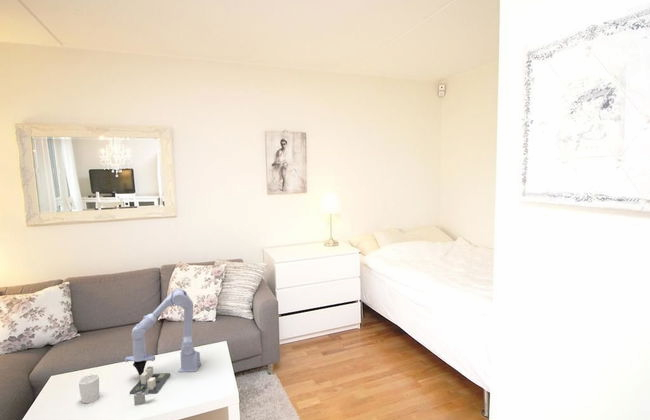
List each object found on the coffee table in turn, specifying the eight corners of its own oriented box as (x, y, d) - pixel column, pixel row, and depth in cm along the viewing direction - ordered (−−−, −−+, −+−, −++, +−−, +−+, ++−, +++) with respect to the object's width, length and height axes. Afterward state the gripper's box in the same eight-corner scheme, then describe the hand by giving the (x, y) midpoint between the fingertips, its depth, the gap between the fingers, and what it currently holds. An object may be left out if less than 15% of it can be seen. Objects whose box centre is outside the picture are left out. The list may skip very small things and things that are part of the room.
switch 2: (153, 374, 174) (153, 366, 174) (150, 377, 171) (150, 369, 171) (148, 374, 174) (148, 366, 174) (146, 377, 171) (145, 369, 171)
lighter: (134, 405, 152) (133, 388, 152) (135, 402, 154) (134, 386, 153) (151, 402, 154) (150, 385, 154) (152, 399, 156) (151, 383, 155)
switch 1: (148, 380, 169) (148, 371, 169) (145, 383, 166) (145, 375, 166) (144, 380, 169) (143, 372, 169) (140, 383, 166) (140, 375, 166)
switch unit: (170, 375, 176) (170, 372, 175) (156, 393, 161) (156, 390, 161) (145, 376, 175) (145, 373, 175) (129, 394, 160) (129, 391, 160)
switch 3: (155, 385, 164) (155, 377, 164) (152, 389, 161) (152, 381, 161) (151, 385, 164) (150, 377, 164) (147, 389, 161) (147, 381, 161)
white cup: (84, 406, 152) (83, 386, 151) (77, 400, 156) (75, 380, 155) (103, 397, 159) (102, 377, 158) (95, 391, 163) (94, 372, 162)
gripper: (157, 344, 175) (158, 369, 177) (129, 345, 175) (131, 370, 176) (150, 351, 168) (152, 377, 170) (121, 352, 168) (123, 377, 169)
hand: (141, 374), depth 173 cm, fingers closed
